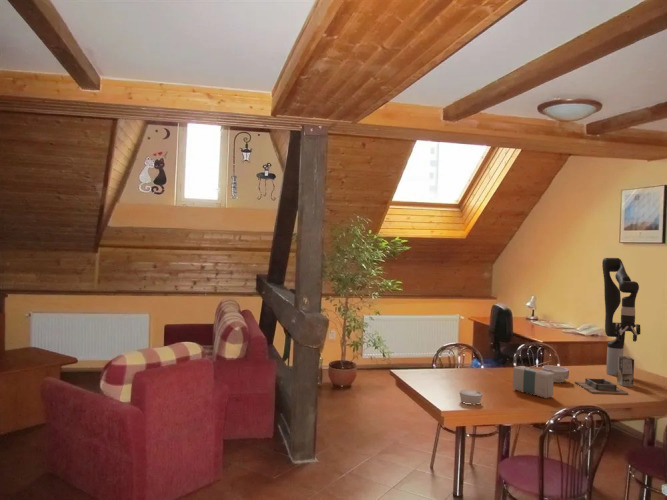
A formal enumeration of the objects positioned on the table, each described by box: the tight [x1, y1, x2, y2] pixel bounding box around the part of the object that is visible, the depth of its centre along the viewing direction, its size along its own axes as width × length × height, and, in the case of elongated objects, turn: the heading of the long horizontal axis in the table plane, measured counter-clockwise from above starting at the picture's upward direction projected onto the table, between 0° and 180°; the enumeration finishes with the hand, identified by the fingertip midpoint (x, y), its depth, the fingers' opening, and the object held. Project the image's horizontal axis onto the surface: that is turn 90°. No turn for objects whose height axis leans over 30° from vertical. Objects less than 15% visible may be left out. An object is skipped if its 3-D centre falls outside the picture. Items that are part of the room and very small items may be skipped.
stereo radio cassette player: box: [512, 359, 554, 399], centre depth 293 cm, size 21×8×20 cm, turn 37°
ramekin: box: [459, 389, 483, 404], centre depth 274 cm, size 11×11×5 cm
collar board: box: [574, 377, 629, 396], centre depth 308 cm, size 22×20×4 cm
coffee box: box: [616, 355, 635, 388], centre depth 318 cm, size 9×6×16 cm
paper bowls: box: [541, 365, 570, 384], centre depth 323 cm, size 15×15×8 cm
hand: (627, 341), depth 322 cm, fingers open, 8 cm apart
